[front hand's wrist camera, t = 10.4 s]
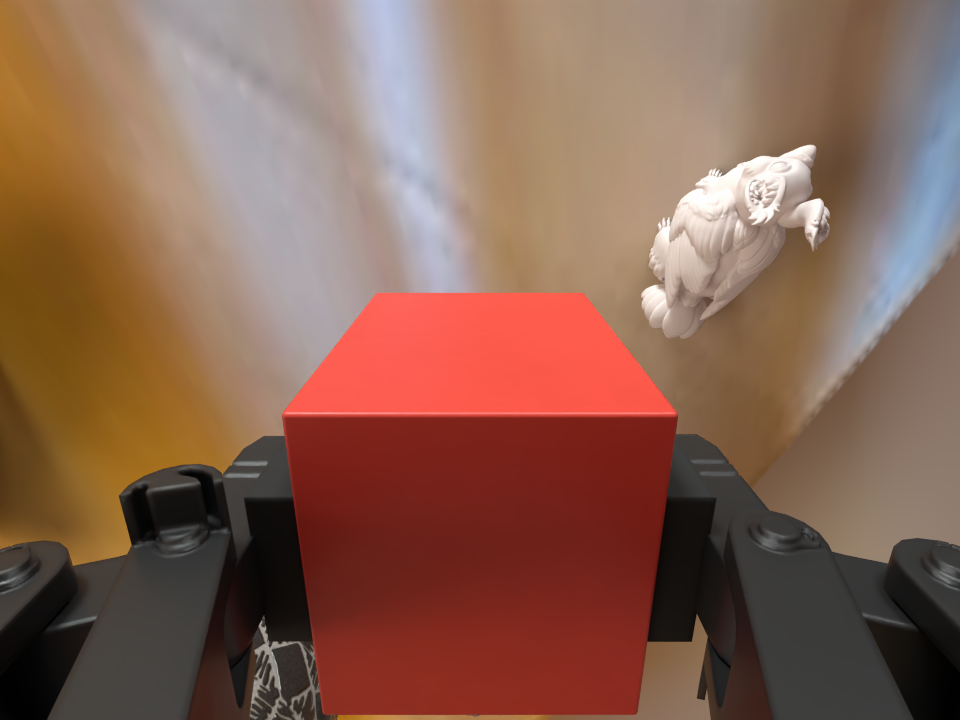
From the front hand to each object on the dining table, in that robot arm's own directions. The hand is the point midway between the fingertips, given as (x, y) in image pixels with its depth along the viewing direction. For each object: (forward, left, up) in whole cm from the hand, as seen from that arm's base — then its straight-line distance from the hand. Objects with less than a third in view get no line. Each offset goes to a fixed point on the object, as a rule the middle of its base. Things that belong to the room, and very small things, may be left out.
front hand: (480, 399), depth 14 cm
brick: (0, 0, 0) cm, 0 cm away
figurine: (-17, +3, -31) cm, 36 cm away
